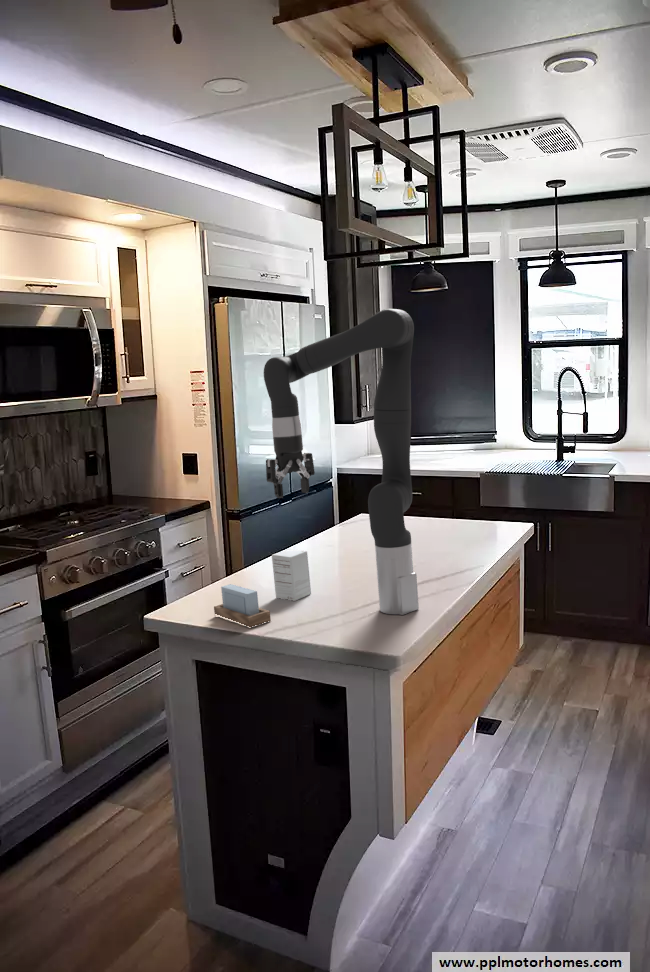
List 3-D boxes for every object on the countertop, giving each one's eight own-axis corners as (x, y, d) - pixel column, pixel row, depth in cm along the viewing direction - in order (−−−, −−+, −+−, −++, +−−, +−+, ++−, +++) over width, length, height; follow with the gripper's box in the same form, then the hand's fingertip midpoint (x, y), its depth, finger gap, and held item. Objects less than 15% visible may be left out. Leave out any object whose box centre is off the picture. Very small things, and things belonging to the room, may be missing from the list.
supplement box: (292, 591, 230) (288, 548, 229) (312, 594, 226) (308, 550, 224) (274, 598, 225) (270, 554, 223) (294, 601, 220) (290, 556, 218)
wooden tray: (270, 621, 204) (269, 610, 204) (250, 628, 200) (248, 617, 200) (235, 610, 216) (234, 600, 216) (214, 616, 212) (213, 606, 212)
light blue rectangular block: (259, 617, 205) (257, 591, 204) (249, 621, 203) (246, 594, 202) (233, 609, 214) (230, 584, 213) (223, 612, 212) (220, 586, 211)
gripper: (274, 437, 202) (280, 500, 204) (317, 431, 211) (322, 491, 213) (256, 437, 207) (262, 498, 210) (299, 430, 216) (304, 490, 219)
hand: (292, 495), depth 211 cm, fingers open, 8 cm apart
